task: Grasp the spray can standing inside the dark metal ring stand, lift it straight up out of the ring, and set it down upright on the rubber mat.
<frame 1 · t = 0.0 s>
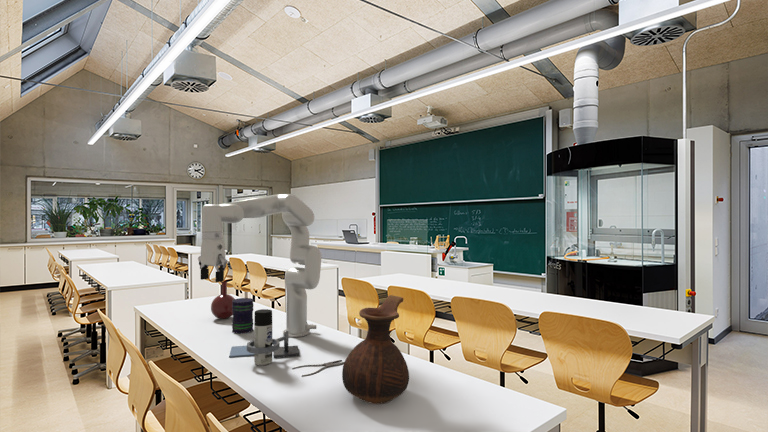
hand: (212, 280, 160), 31 cm above the table, tool pointing down, fingers open, 9 cm apart
storage jar: (242, 331, 202), on the table
jug: (376, 395, 132), on the table
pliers: (318, 368, 156), on the table
mat: (245, 351, 172), on the table
round-bottom flask: (223, 319, 224), on the table
ring stand: (263, 362, 159), on the table
spray can: (263, 363, 159), on the table
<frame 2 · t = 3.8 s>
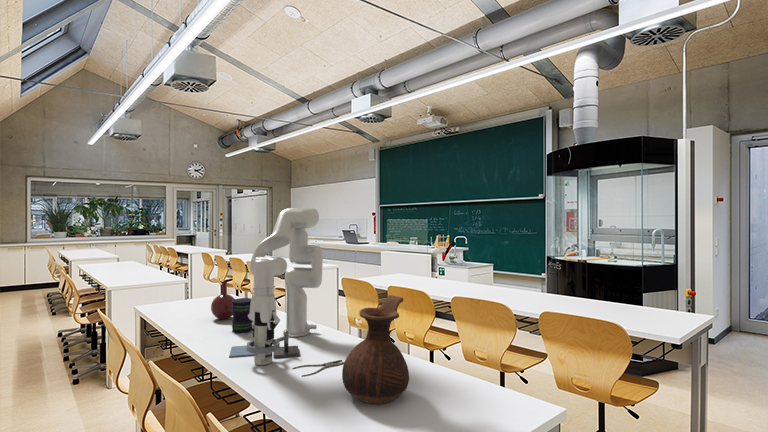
hand: (263, 337, 159), 10 cm above the table, tool pointing down, fingers closed on spray can, 6 cm apart
spray can: (263, 363, 159), on the table, touching gripper
everything else where it was.
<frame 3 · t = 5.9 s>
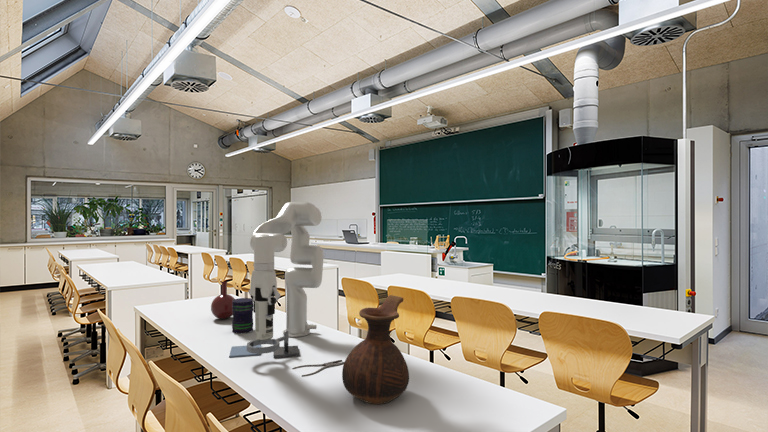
hand: (264, 312, 159), 19 cm above the table, tool pointing down, fingers closed on spray can, 6 cm apart
spray can: (264, 338, 160), point 9 cm above the table, touching gripper
everything else where it was.
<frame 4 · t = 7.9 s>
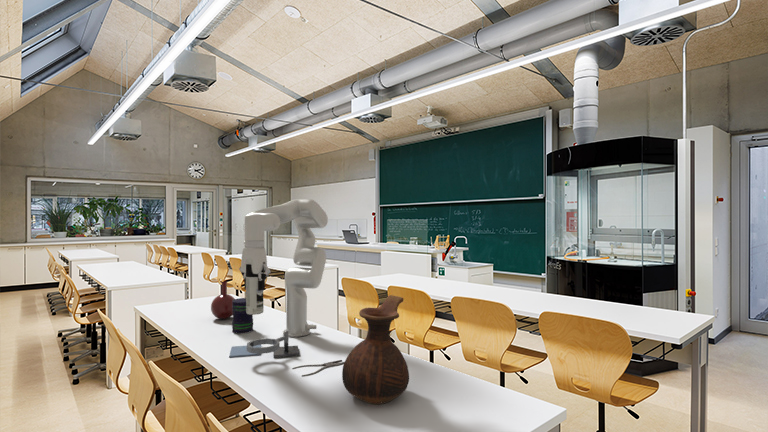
hand: (254, 288, 166), 27 cm above the table, tool pointing down, fingers closed on spray can, 6 cm apart
spray can: (254, 313, 166), point 17 cm above the table, touching gripper
everything else where it was.
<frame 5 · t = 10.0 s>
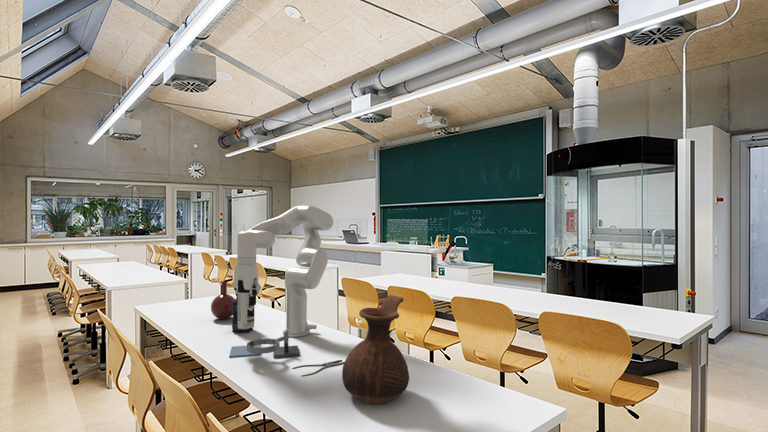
hand: (246, 304, 171), 20 cm above the table, tool pointing down, fingers closed on spray can, 6 cm apart
spray can: (245, 327, 171), point 10 cm above the table, touching gripper
everything else where it was.
when the fingers open (12 cm above the table, at t = 12.0 s): spray can drops 1 cm, resting on mat.
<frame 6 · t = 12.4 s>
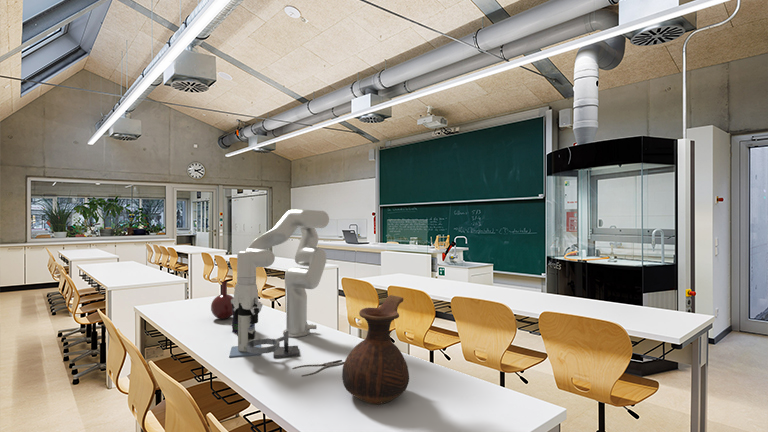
hand: (246, 321, 172), 12 cm above the table, tool pointing down, fingers open, 9 cm apart
spray can: (246, 350, 172), resting on mat
everything else where it was.
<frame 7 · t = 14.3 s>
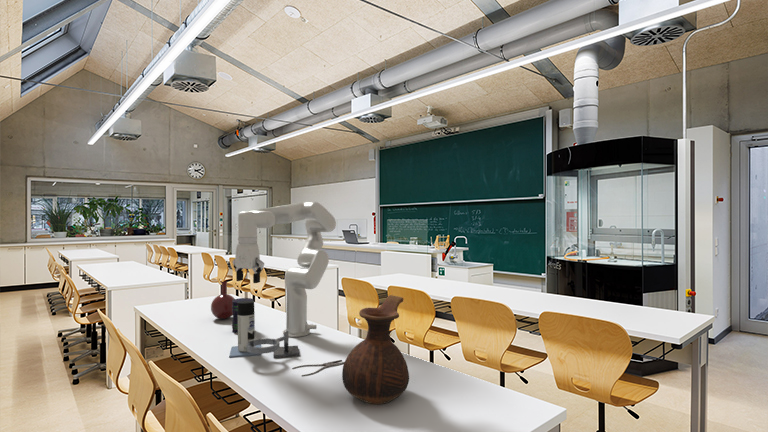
hand: (248, 281, 173), 29 cm above the table, tool pointing down, fingers open, 9 cm apart
nothing on the table moved.
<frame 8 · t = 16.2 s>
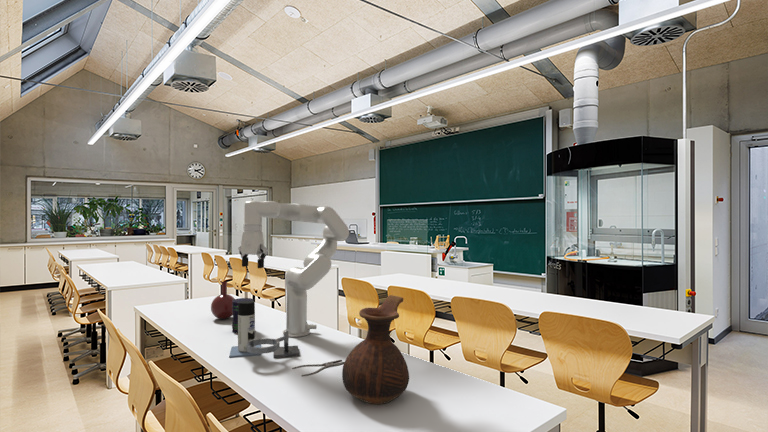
hand: (252, 267, 184), 33 cm above the table, tool pointing down, fingers open, 9 cm apart
nothing on the table moved.
at the end: spray can inside the target area on the mat (0.2 cm from its centre), point 0.4 cm above the mat's base; spray can tilted 0°; the gripper is holding nothing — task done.
